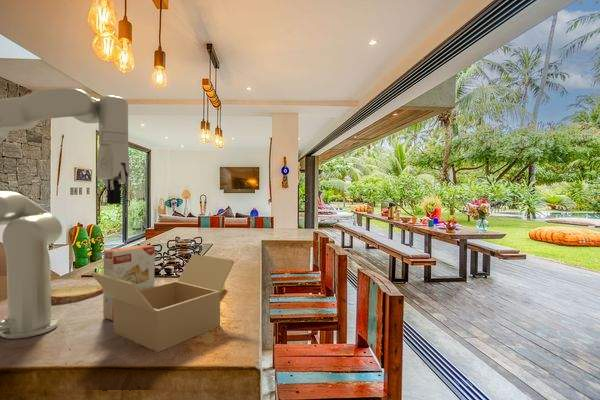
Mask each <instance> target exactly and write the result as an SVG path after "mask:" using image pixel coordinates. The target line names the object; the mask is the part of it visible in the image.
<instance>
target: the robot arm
mask: <svg viewBox="0 0 600 400" xmlns="http://www.w3.org/2000/svg"><path fill="white" fill-rule="evenodd" d="M70 117H71V118H74V119H75V120H78V121H79V122H81V123H84V124H98V145H99V146H98V149H97V155H96V156H97V159H96V178H97V179H98V180H102V184H104V185H105V190H106V204H107V205H121V204H122V203H121V202H122V189H123V185H124V184H126V183H127V179H128V178H129V177H130V156H129V148H128V147H129V103H128V101H127V100H126V99H125V98H124V97H121V96H115V95H102V96H101V97H100V98H95V97H92V96H91V95H89V94H88V93H87V92H86V91H84V90H82V89H78V88H73V87H65V88H63V87H62V88H50V89H40V90H37V91H33V92H30V93H27V94H25V95H23V96H18V97H17V96H16V97H6V98H2V97H1V98H0V144H1V143H2V142H3V141H4V140H5V139H6V137H8V135H9V133H10V132H11V131H23V130H30V129H34V128H35V127H36V126H37V124H38V123H39V122H42V121H45V120H50V119H59V118H70ZM4 225H6V226H5V227H4V229H3V232H2V245H3V249H4V253H5V261H6V280H7V281H6V285H7V286H6V287H7V288H6V289H7V315H5V316H3V319H2V320H0V336H1V338H4V339H9V340H11V339H16V340H17V339H25V338H29V337H30V338H31V337H35V336H38V335H42V334H45V333H49V332H51V331H52V330H54V329H55V328H57V327H58V325H59V320H58V319H57V318H54V317H52V305H51V290H52V279H51V278H52V277H51V276H52V274H51V269H52V268H51V259H50V258H51V257H50V253H49V249H48V246H49V245H52V244H54V243H56V242H57V241H58V240H59V239H60V238H61V236H62V233H63V225H62V224H61V221H60V220H59V219H58V218H57V216H55V215H53V214H52V213H50V212H49V211H48V210H46V209H44V208H43V207H42V206H41V205H39V204H37V203H36V202H35V201H33V200H32V199H30V198H29V197H27V196H26V195H23V194H22V193H20V192H16V191H11V190H0V226H4Z"/></svg>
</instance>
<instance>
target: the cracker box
mask: <svg viewBox="0 0 600 400" xmlns="http://www.w3.org/2000/svg"><path fill="white" fill-rule="evenodd" d="M155 251H156V250H155V246H153V245H147V244H143V245H142V244H141V245H134V246H126V247H119V248H110V249H105V250H104V249H103V275H107V276H110V277H114V278H118V279H121V280H125V281H129V282H132V283H134V285H135V286H136V287H137V288H138V290H142V289H146V288H150V287H154V286H155V267H156V265H155V263H156V262H155V259H156V257H155V255H156V254H155ZM102 296H103V297H102V298H103V310H102V311H103V317H102V318H104V319H106V320H107V319H108V320H109V321H113V322H114V306H113V298H112V297H111V296H110V295H109V294H108V293H107V292H106V290H105V289H104V288H103V293H102Z"/></svg>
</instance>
